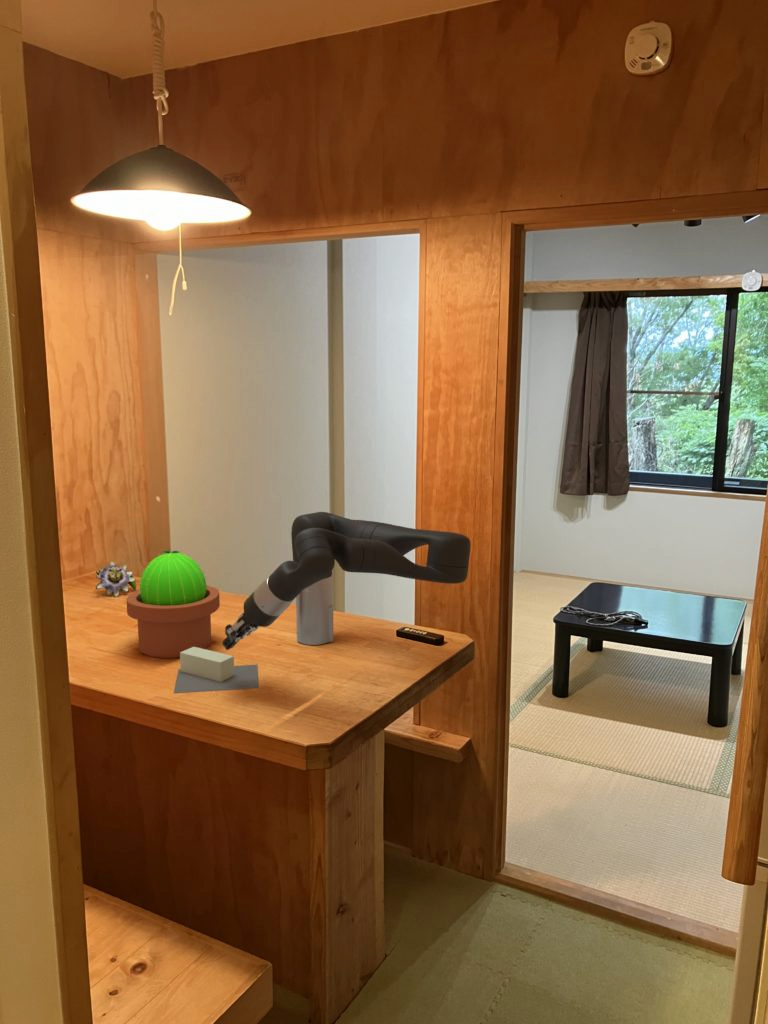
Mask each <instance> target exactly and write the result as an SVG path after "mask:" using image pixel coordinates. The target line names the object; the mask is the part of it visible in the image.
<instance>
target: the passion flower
mask: <svg viewBox="0 0 768 1024" xmlns="http://www.w3.org/2000/svg"><path fill="white" fill-rule="evenodd" d="M127 567H128V566H127V564H124V565H121V566H118V565H117V564H115V562H114V561H110V562H109V564H108V565H107V566H106V567H104V568H98V570H95V574H96V576H95V578H96V579H99V580H100V582H99V583H97V585H96V586H95V589H96V590H100V589H103V588H104V589H105V593H106V595H107V596H109V595H113V596H114V598H117V597H118V596H119V594H120V591H121V590H122V591H124V592H127V593H128V591H129V587H128V585H129V586H130V587H131V588H132V589H133V591H137V583H136V580H137V579H136V578H135V577H134V576H133V571H127V570H126V569H127Z"/></svg>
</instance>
